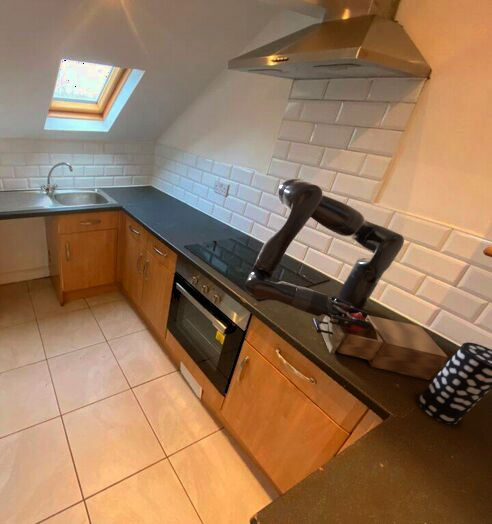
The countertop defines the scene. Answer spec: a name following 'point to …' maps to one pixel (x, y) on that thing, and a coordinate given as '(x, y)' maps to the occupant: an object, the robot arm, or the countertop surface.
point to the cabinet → (406, 349)
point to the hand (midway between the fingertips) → (367, 320)
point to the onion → (355, 328)
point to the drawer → (349, 339)
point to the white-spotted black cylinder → (459, 384)
